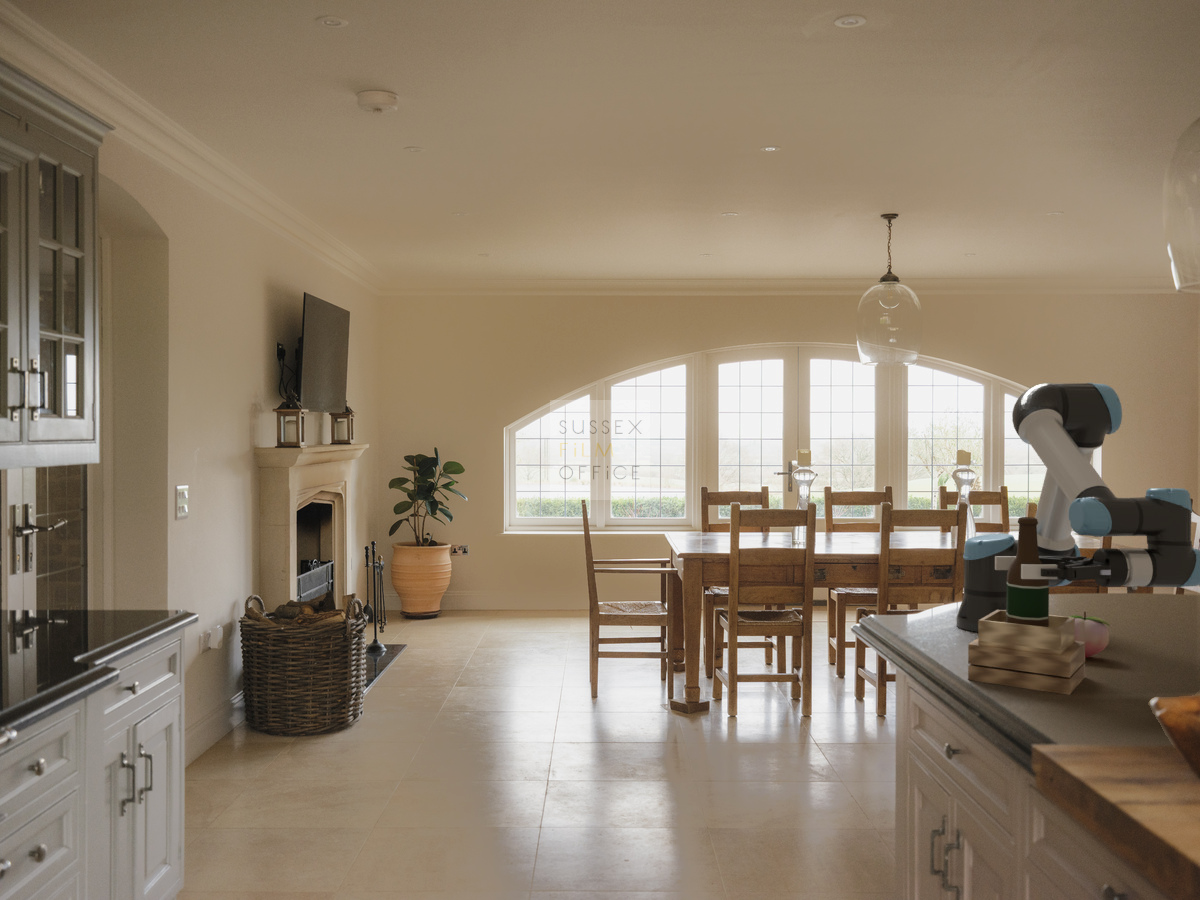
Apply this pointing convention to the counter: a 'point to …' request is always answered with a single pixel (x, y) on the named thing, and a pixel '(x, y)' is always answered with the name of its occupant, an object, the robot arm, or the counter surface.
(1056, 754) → the counter surface
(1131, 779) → the counter surface
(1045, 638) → the top crate
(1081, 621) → the decorative fruit
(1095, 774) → the counter surface
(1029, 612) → the beer bottle
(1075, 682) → the base crate
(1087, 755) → the counter surface
